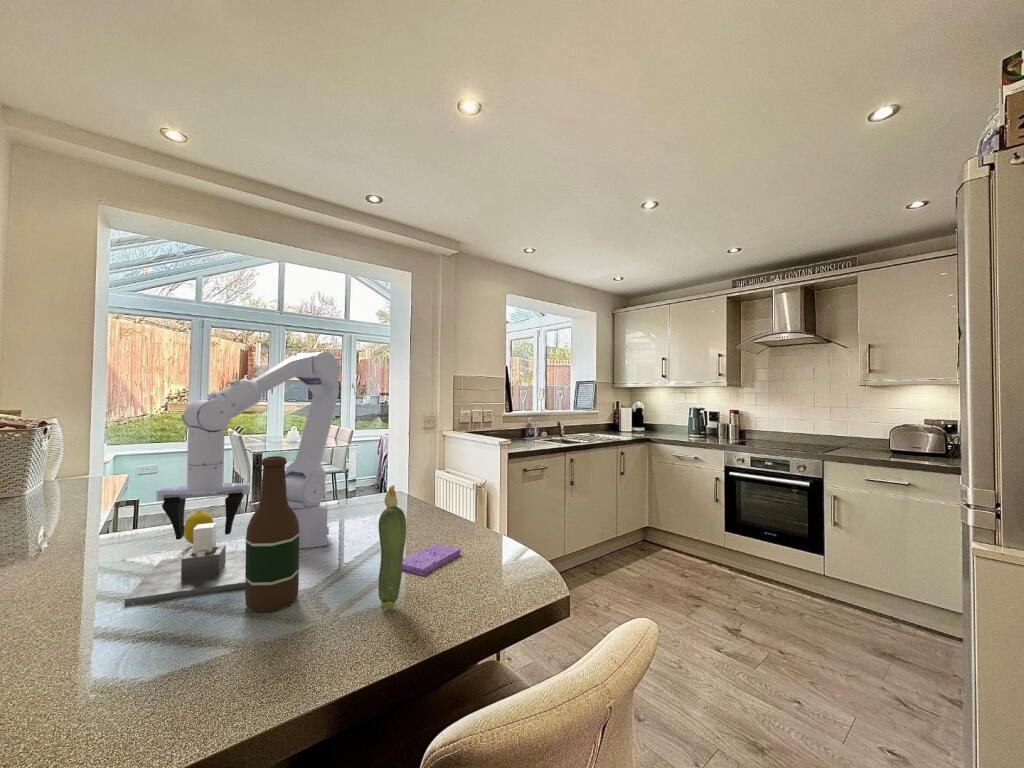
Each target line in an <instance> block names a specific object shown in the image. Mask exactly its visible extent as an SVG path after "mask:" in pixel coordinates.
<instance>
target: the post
mask: <svg viewBox="0 0 1024 768" xmlns="http://www.w3.org/2000/svg"><path fill="white" fill-rule="evenodd" d="M216 544H217V522H214V523H209V524H199V525H197V526H196V527H195V528H194V529H193V544H192V548H193V556H196V555H197V553H198V552H203V551H206V554H214V553H215V551H216Z"/></svg>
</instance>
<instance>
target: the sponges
mask: <svg viewBox="0 0 1024 768" xmlns="http://www.w3.org/2000/svg"><path fill="white" fill-rule="evenodd" d="M461 550H462V549H461V548H459V547H458V548H457V547H451V546H449V547H448V546H444V545H440V544H436V543H434V544H433V545H431V546H430V545H429V546H428V547H426V548H424V549H422V550H420V551H416V552H415V553H413V554H410V555H408V556H406V557H403V562H402V571H404V572H408V573H411V574H416V575H420V576H424V575H426V574H427V573H429V572H431V571H433V570H436V569H438V568H439V567H440V566H442V565H444V564H446V563H448V562H450V561H451V560H453V559H455V558H457V557H459V556H460V554H461Z"/></svg>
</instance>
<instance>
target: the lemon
mask: <svg viewBox="0 0 1024 768" xmlns="http://www.w3.org/2000/svg"><path fill="white" fill-rule="evenodd" d="M209 523H215V522H214V519H213V517H212V515H211V514H209V512H205V511H203V510H201V509H198V510H197V511H196V512H193V513H192V514H191V515H189V516H188V517H187V519H186V520H185V521H184V536H183V537H184V538H185V540H186V542H188V543H189V544H192V545H193V529H194V528H195V527H196V526H197V525H199V524H209Z"/></svg>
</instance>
